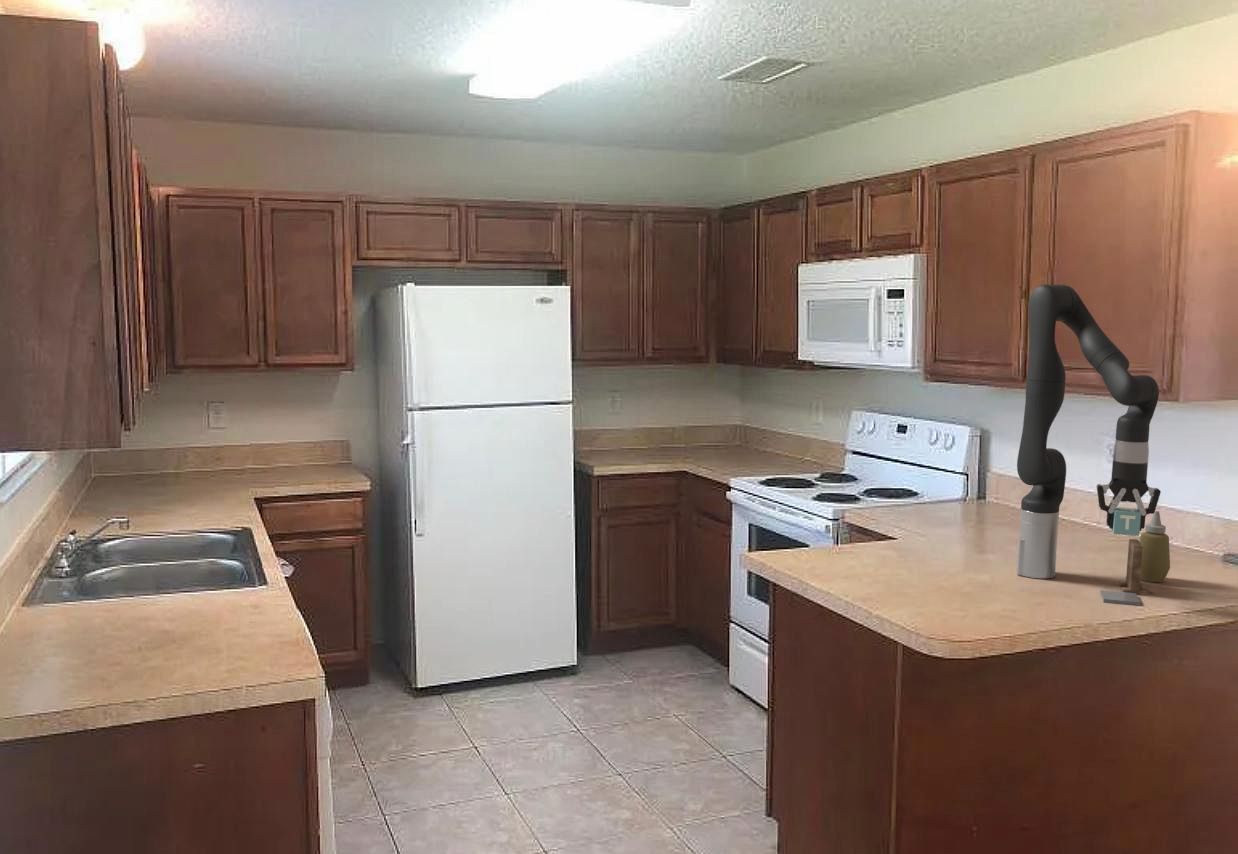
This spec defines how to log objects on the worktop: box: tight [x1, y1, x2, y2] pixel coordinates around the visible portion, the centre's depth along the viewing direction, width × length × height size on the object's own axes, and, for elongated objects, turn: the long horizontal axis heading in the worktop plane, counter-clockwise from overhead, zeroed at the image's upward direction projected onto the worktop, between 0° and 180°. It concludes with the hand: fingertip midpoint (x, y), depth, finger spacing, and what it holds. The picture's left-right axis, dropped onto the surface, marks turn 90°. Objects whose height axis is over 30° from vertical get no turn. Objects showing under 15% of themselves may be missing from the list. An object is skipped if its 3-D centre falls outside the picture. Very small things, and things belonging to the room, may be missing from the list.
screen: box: [1118, 538, 1147, 596], centre depth 258 cm, size 5×8×12 cm, turn 161°
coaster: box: [1099, 589, 1142, 607], centre depth 250 cm, size 8×8×1 cm
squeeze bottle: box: [1138, 510, 1171, 583], centre depth 266 cm, size 8×8×18 cm
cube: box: [1110, 506, 1141, 537], centre depth 248 cm, size 6×6×6 cm
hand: (1125, 528), depth 248 cm, fingers closed on cube, 5 cm apart
